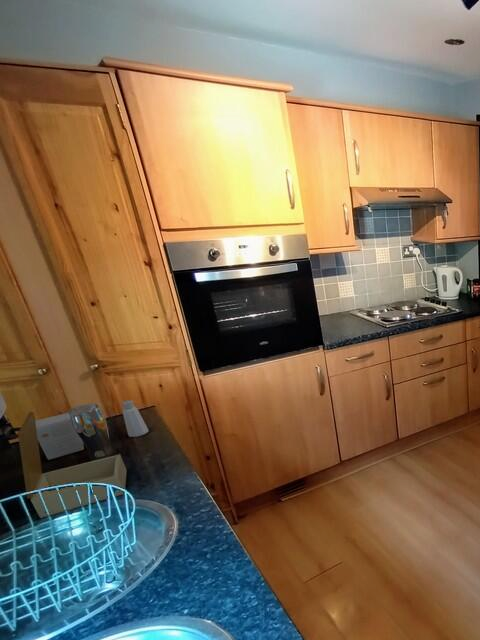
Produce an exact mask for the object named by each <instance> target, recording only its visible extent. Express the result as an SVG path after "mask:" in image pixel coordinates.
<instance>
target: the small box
mask: <svg viewBox="0 0 480 640" xmlns="http://www.w3.org/2000/svg"><path fill="white" fill-rule="evenodd" d="M35 423H36V430H37V438H38V444H39V445H40V448H41V449H42V451H43V453H44V455H45V458H46V459H47V460H48V461H49V460H53V459H57V458H60V457H63V456H67V455H70V454H74V453H78V452H81V451H84V450H85V447H84V446H85V445H84V443H83V442H82V440H81V439H80V438H79V437H78V435H77V434H76V432H75V431H74V429H73V427H72V424H71V421H70V418H69V415H68V412H65V413H62V414H58V415H52V416H50V417H45V418H41V419H37V420H35Z"/></svg>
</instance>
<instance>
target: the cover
mask: <svg viewBox="0 0 480 640" xmlns="http://www.w3.org/2000/svg"><path fill="white" fill-rule="evenodd" d="M35 421H36V415H35V411H29V412H28V414H27V416H26V418H25V420H24V422H23V424H22V425H21V426H19V427H18V426H17V427H13V426H12V427H13V428H12V427H10V426H3V427H2V428H1V432H2V433H5V435H6V437H7V439H12V438H16V439H18V445H19V450H20V458H21V465H22V472H23V478H24V479H23V480H24V486H25V492H30V491H34V490H35V489H36V486H37V484H38V481H39V479H40V476H41V474H43V470H42V462H41V455H40V446H39V441H38V438H37V430H36V423H35ZM13 431H15V432H17V433H16V434H14V435H10V433H11V432H13ZM32 497H33V494H29V495H27V494H26V499H31V498H32Z"/></svg>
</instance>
